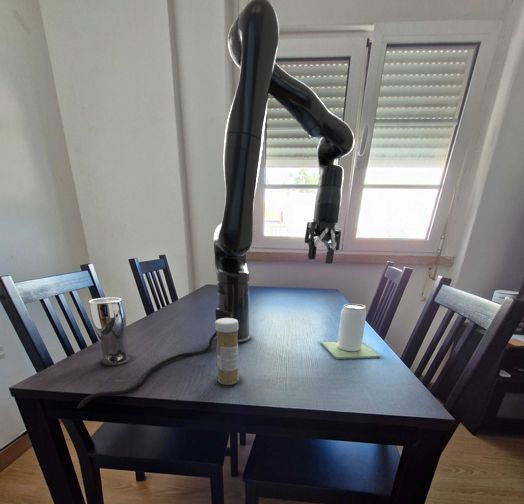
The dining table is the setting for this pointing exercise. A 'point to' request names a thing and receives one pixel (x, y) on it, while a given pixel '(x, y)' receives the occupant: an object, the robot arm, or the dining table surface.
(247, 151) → the robot arm
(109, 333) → the beer glass
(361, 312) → the can
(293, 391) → the dining table surface
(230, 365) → the sprinkles bottle
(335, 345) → the can mat
